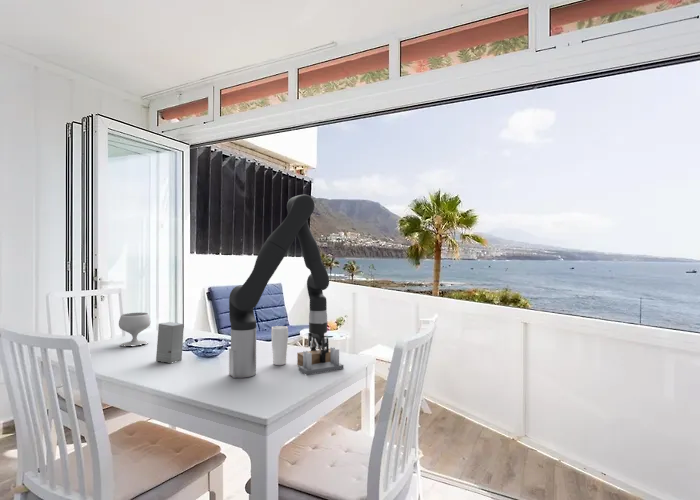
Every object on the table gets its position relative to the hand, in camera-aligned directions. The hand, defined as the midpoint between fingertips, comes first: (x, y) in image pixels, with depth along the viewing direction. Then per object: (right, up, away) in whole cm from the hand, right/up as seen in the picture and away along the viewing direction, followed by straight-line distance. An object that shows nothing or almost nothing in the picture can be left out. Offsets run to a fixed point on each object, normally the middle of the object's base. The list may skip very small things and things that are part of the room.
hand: (318, 360), depth 168 cm
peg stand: (+2, -1, -9) cm, 10 cm away
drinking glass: (-16, -1, -1) cm, 16 cm away
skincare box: (-63, -1, +3) cm, 63 cm away
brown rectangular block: (0, -2, 0) cm, 2 cm away
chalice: (-94, -2, +34) cm, 99 cm away
